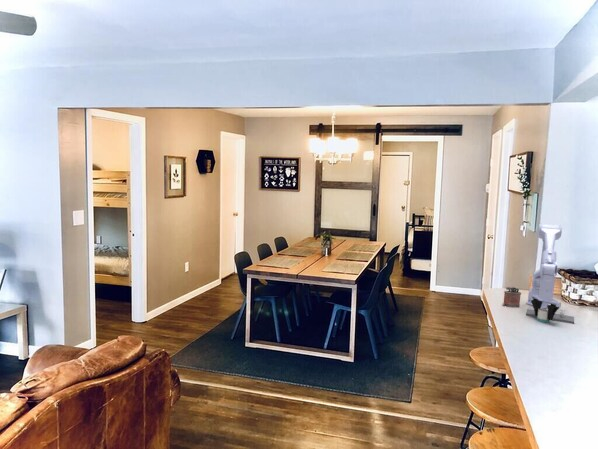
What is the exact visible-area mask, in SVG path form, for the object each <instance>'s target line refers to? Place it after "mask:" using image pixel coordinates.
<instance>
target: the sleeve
mask: <svg viewBox="0 0 598 449" xmlns="http://www.w3.org/2000/svg"><path fill="white" fill-rule="evenodd" d="M536 320H537V321H538V322H540V323H550V320H548V308H541V309H538V316H537V317H536Z"/></svg>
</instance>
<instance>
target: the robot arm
mask: <svg viewBox="0 0 598 449" xmlns="http://www.w3.org/2000/svg"><path fill="white" fill-rule="evenodd" d="M562 230H563V227H562V225H561V224H550V223H549V224H547V223H539V225H538V231H537V232H538V233H537V237H538V238H539V239H541V240H542V246H541V247H542V249H541V255H540V256H541V257H540V265H539V266H540V267H539V269H538V270H536V271H534V272H533V276H532V280H531V281H532V282H531V286H532V287H530V288H529V290H528V295H527V301H526V304H527V305H530V306H532V307H533V310H534V311H535V316H538V309H547V310H548V320H549V321H553V320H552V319H553V317H554V315H555V314H557V312H558V310H559V309H560V308H561V307H562V302H561V301H558V300H555V298H554V292H555V282H556V277H557V275H558V263H557V252H556V251H555V245H556V244H555V243H556V241H557V240H560V238H561V237H562V232H563V231H562Z"/></svg>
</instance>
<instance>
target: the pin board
mask: <svg viewBox="0 0 598 449" xmlns="http://www.w3.org/2000/svg"><path fill="white" fill-rule="evenodd" d="M565 313H566V310H565V309H564V308H560V312H559V313H555V315H554V317H553V319H552V320H551V321H554V322H555V321H557V322H561V323H567V324H575V316H571V315H567V314H566V315H565ZM525 316H527V317H533V318H537V316H535V311H534V309H530V308H527V309H526V312H525Z"/></svg>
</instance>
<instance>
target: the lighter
mask: <svg viewBox="0 0 598 449" xmlns="http://www.w3.org/2000/svg"><path fill="white" fill-rule="evenodd" d="M505 289H506V290H504V291H503V293H504V294H503V295H504V296H503V303H502V306H503V307H505V306H506V308H507V307H508V308H520V307H521V306H520V302H521V295H522V292H520V288H519V287H514V286H506V287H505Z"/></svg>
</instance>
